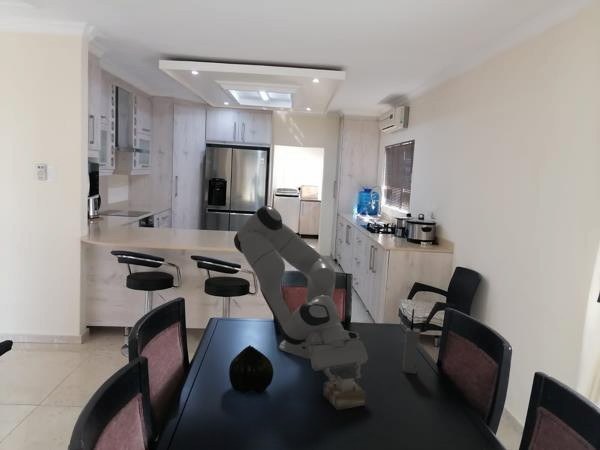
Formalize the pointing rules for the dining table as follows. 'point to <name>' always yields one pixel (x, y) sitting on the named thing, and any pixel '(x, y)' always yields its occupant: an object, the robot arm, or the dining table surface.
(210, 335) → the dining table surface
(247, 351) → the squash
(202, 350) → the dining table surface
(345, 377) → the pale rectangular box
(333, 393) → the box
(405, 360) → the vintage mobile phone
